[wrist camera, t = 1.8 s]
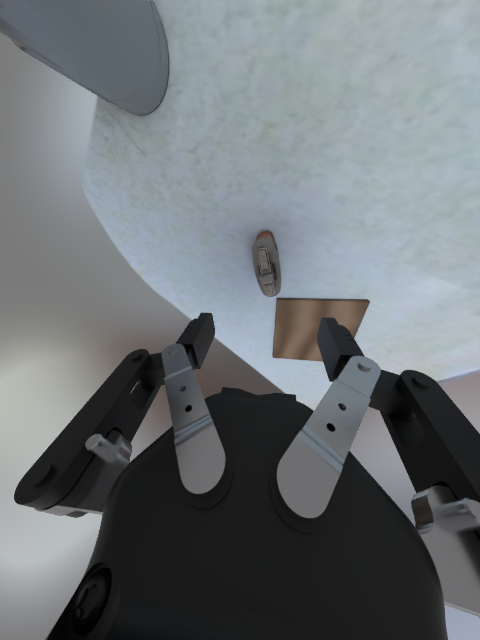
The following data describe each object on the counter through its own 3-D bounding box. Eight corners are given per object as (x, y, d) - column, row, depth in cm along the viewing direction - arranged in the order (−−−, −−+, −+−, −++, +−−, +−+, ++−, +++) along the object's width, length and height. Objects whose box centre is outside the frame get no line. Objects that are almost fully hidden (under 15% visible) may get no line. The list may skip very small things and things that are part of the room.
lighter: (281, 275, 30) (285, 303, 22) (263, 279, 31) (260, 307, 23) (274, 226, 26) (275, 238, 18) (253, 233, 27) (245, 246, 19)
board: (272, 355, 42) (272, 357, 41) (277, 297, 33) (277, 299, 32) (342, 360, 39) (343, 363, 39) (367, 299, 30) (369, 301, 30)
